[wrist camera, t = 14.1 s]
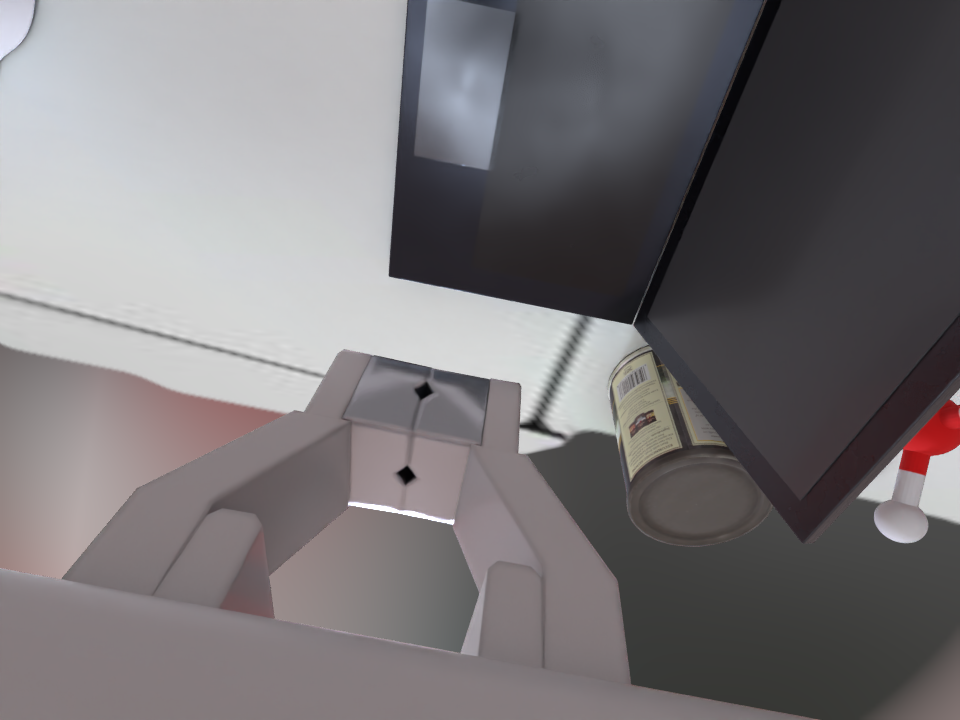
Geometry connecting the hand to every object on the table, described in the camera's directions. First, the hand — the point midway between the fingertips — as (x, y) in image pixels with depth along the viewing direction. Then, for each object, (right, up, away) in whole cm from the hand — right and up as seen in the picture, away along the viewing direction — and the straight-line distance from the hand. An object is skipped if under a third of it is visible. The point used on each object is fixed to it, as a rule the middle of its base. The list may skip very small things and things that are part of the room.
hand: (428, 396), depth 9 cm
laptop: (+6, +19, +27) cm, 33 cm away
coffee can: (+18, -2, +40) cm, 44 cm away
